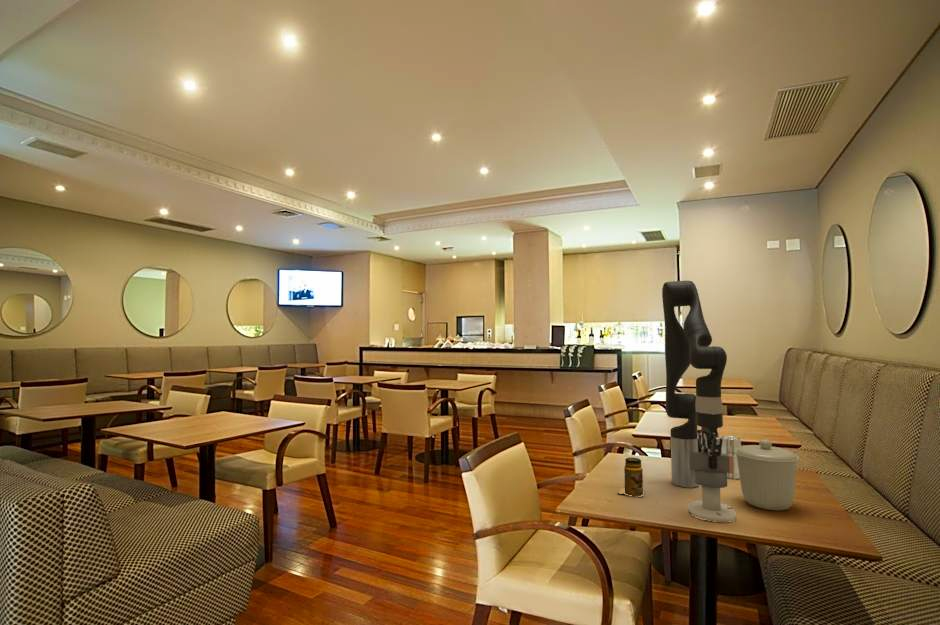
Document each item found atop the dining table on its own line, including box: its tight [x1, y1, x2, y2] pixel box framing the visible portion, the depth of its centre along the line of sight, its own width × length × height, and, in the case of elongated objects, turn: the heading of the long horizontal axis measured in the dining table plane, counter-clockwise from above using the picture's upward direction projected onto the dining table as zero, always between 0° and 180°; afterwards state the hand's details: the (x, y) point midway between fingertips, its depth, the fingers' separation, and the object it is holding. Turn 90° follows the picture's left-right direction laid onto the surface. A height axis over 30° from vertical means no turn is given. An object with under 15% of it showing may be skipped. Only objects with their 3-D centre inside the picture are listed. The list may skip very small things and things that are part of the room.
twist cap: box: [688, 451, 734, 489], centre depth 148 cm, size 12×9×9 cm
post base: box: [688, 486, 737, 523], centre depth 147 cm, size 13×13×9 cm
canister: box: [734, 438, 801, 511], centre depth 155 cm, size 18×18×21 cm
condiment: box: [623, 457, 646, 496], centre depth 167 cm, size 7×8×12 cm
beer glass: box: [720, 435, 742, 480], centre depth 186 cm, size 7×7×15 cm
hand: (710, 466), depth 148 cm, fingers closed on twist cap, 4 cm apart
